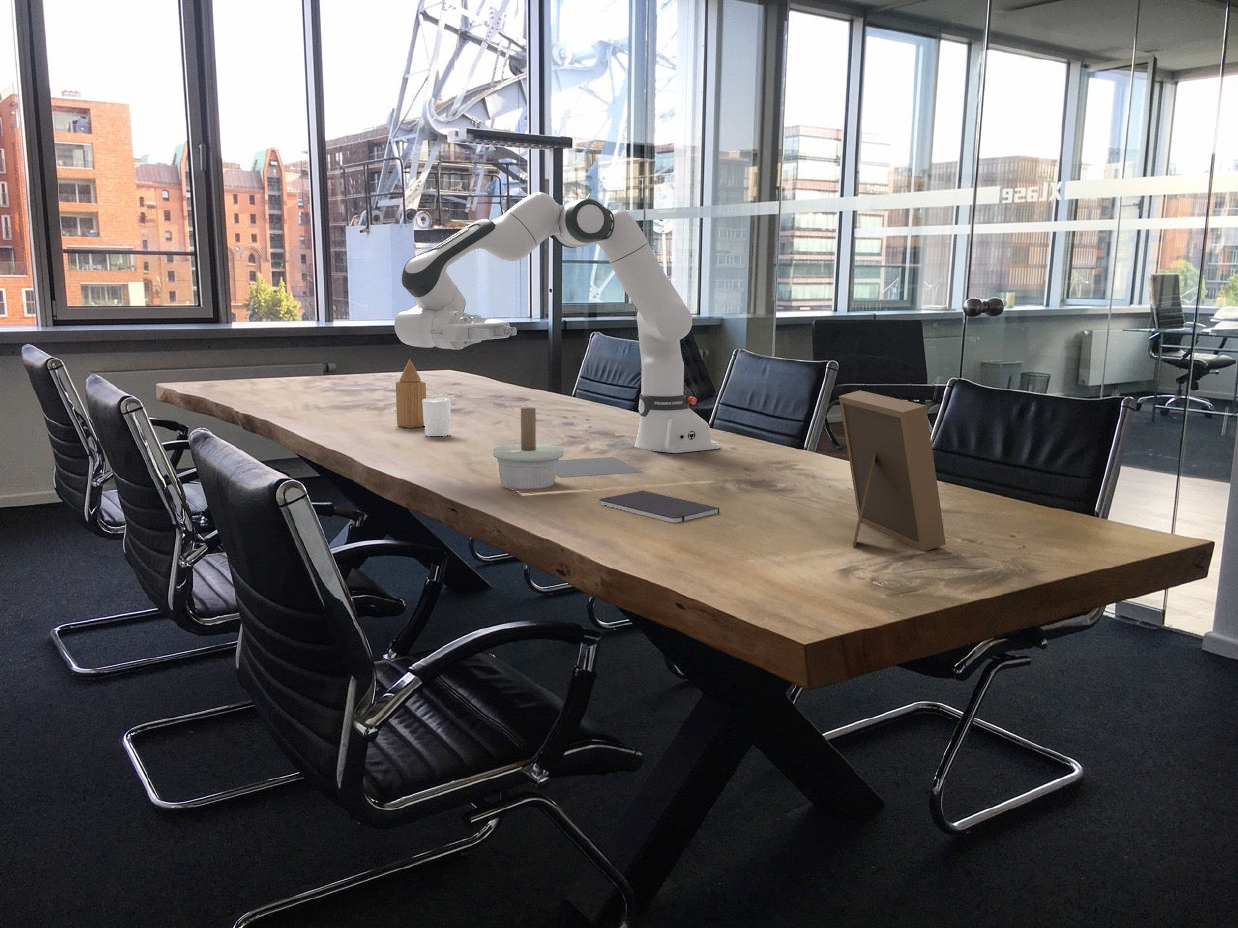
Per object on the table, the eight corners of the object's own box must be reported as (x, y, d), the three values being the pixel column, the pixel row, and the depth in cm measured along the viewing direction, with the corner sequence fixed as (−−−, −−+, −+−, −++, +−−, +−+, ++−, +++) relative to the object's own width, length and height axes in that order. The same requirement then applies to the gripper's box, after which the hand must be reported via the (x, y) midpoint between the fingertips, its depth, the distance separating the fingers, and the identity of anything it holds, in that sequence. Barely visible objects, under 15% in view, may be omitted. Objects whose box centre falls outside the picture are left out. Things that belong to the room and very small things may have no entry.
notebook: (719, 515, 203) (642, 497, 218) (719, 507, 203) (642, 490, 218) (674, 526, 194) (597, 506, 209) (674, 517, 194) (597, 499, 209)
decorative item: (396, 426, 307) (394, 358, 303) (415, 424, 311) (413, 356, 308) (408, 428, 302) (406, 359, 298) (427, 426, 307) (426, 358, 303)
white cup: (436, 438, 286) (435, 402, 284) (417, 435, 291) (416, 399, 289) (457, 434, 292) (456, 399, 291) (437, 432, 297) (437, 397, 295)
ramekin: (571, 486, 226) (571, 455, 225) (525, 495, 217) (525, 463, 215) (530, 477, 235) (530, 447, 234) (484, 486, 226) (484, 454, 224)
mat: (613, 459, 258) (613, 456, 257) (643, 474, 239) (643, 471, 239) (535, 463, 251) (535, 461, 250) (560, 479, 232) (560, 477, 232)
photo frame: (879, 520, 198) (886, 389, 194) (945, 550, 178) (955, 404, 173) (808, 525, 194) (814, 391, 189) (868, 556, 174) (876, 407, 169)
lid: (550, 447, 234) (550, 402, 232) (572, 459, 220) (572, 411, 219) (485, 451, 229) (485, 405, 227) (504, 463, 215) (503, 414, 213)
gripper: (424, 318, 232) (474, 320, 226) (479, 314, 250) (527, 316, 243) (425, 346, 233) (475, 349, 227) (480, 341, 251) (527, 343, 244)
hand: (502, 332), depth 235 cm, fingers open, 8 cm apart
